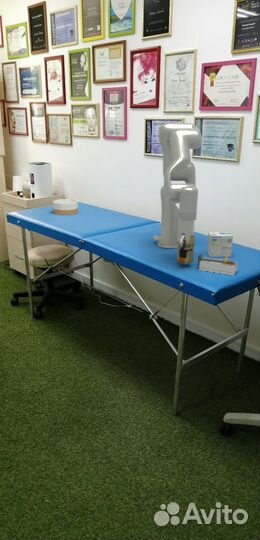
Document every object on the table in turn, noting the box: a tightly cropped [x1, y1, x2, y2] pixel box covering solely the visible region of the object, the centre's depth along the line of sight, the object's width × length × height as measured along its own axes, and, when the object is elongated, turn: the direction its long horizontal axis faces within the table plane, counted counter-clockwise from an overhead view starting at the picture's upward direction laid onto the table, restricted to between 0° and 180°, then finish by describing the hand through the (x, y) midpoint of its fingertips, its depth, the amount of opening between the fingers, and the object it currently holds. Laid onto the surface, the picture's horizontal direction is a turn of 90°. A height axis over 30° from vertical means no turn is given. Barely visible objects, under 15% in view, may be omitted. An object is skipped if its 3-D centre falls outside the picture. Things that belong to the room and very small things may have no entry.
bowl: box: [52, 198, 79, 216], centre depth 282 cm, size 17×17×8 cm
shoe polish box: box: [176, 235, 196, 265], centre depth 178 cm, size 5×5×12 cm
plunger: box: [197, 253, 229, 267], centre depth 175 cm, size 12×3×5 cm, turn 66°
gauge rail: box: [198, 256, 238, 277], centre depth 174 cm, size 15×7×4 cm, turn 66°
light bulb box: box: [206, 231, 234, 258], centre depth 194 cm, size 11×7×11 cm, turn 92°
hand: (185, 255), depth 179 cm, fingers closed on shoe polish box, 6 cm apart
